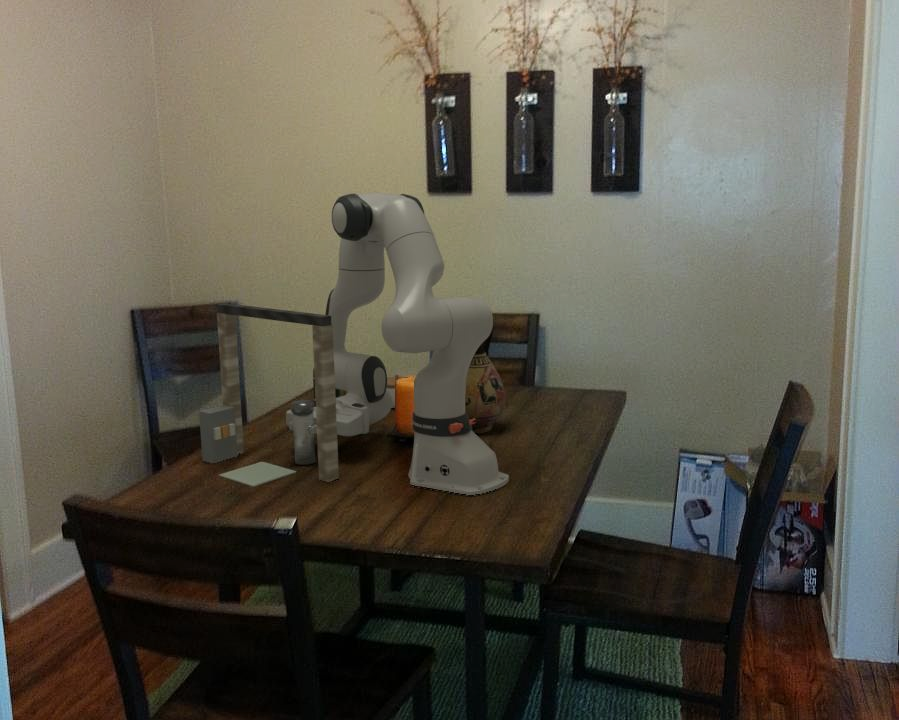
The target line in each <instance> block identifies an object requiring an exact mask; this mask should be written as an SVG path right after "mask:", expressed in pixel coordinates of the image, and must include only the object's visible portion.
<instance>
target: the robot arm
mask: <svg viewBox="0 0 899 720" xmlns="http://www.w3.org/2000/svg"><path fill="white" fill-rule="evenodd" d="M331 223H332V228H333V230H334V232H335V233H336V234H337V236H338V237H339V238H340V244H339V249H338V251H339V253H338V276H337V281H336V284H335V286H334V288H333V289H332V290H330V292H329V294H328V299H327V302H326V307H325V313H324V315H330V316H331V323H332V325H333V347H334V371H335V390H340V391H346V394H344V395H340V397H337V398H336V421H337V436H343V437H353V436H358V435H360V434H361V435H365V434H369V432H370V426H371V425H372V424H375V423H377V422H379V421H381V420H382V419H384V418H385V417H387V416H388V414H390V412H391V410H392V409H391V408H392V396H391V394H390V392H389V391H388V389H387V388H386V387H387V377H388V375H387V369H386V366H385V364H384V362H383V361H382V360H381V358H380V357H378V356H375V355H371V354H364V353H357V352H350V351H347V349H346V348H345V343H346V335H347V330H348V329H347V326H348V320H349V318H350V315H351V313H352V312H354V311H355V310H357V309H359V308H361V307H364V306H366V305H369V304H371V303H373V302H375V301H376V300H377V299H378V298H379V297H380V296H381V294H382V293H383V291H384V287H385V282H386V281H385V279H386V273H385V270H386V266H385V264H386V263H385V251H386V255H387V257H388V260H389V265H390V267H391V272H392V274H393V279H394V283H395V284H394V285H395V295H394V298H393V300H392V303H391V304H390V306H389V307H388V308H387V310H386V311H385V312H384V314H383V317H382V320H381V326H380V327H381V329H380V330H381V335H382V338H383V340H384V343H386V345H387V346H388V347H389V349H391V351H393V352H398V353H406V354H420V353H427V352H432V356H431V358H430V360H429V361H428V363H427V364H426V365H425V366H424V367H423V368H422V369H420V370H419V371H418V373H416V375H415V377H414V379H415V380H414V399H413V405H414V407H413V408H414V409H413V413H412V420H411V424H412V431H414V433H413V434H414V436H413V446H412V447H413V448H412V457H411V462H410V467H409V471H408V474H407V476H408V478H409V479H410V480H409V485H410V484H411V485H415V486H422V487H427V488H433V489H438V490H443V491H442V492H444V491H449V492H448V493H450V492H454V493H453V494H455V493H460V494H459V495H461V494H466V495H465V496H468V495H474V496H476V495H475V494H480V495H483V494H482V493H484V494H487V493H486V492H488V493H490V492H489V491H491V492H493V490H494V491H496V490H498V489H501V488H502V487H504V486H505V485H506V484H508V483H509V482H510V477H509V474H507V473H505V472H501V471H499V464H498V459H497V456H496V453H495V451H493V450H492V449H491V448H490V447H489V446H488V445H487V444H486V443H485V441H483V440H482V439H481V438H480V437H479V436H478V435H477V434H475V433H474V432H473V431H472V426H471V424H474V423H476V422H473V421H474V420H475V419H476V418H473V419H470V420H469V417H468V414H467V412H466V411H465V392H466V378H467V373H468V369H469V366H470V363H471V361H472V358H473V356H474V354H475V352H476V351H477V349H478V348H479V346H480V345H481V344H482V343H483V342H484V341H485V340H486V339H487V338H488V337H489V335H490V333H491V331H492V327H493V320H494V317H493V316H494V315H493V311H492V310H491V308H490V306H489V305H488V304H487V303H486V301H485V300H484V299H482V298H479V297H478V298H477V297H472V296H464V295H463V296H462V295H461V296H452V297H451V296H449V297H441V298H440V297H436V296H435V295H434V292H433V287H434V286H435V285H436V284H437V283H438V282H439V281H441V278H442V277H443V275H444V271H445V262H444V259H443V257H442V254H441V251H440V249H439V245H438V243H437V239H436V238H435V233H434V232H433V229H432V228H431V225H430V223H429V220H428V219H427V217H426V215H425V210H424V207H423V205H422V203H421V201H420V200H419V198H417V197H415V196H413V195H409V194H406V193H405V194H404V193H401V194H397V193H386V192H385V193H383V192H382V193H381V192H367V193H365V192H364V193H359V194H356V193H349V194H345V195H342V196H339V197H338V198H337V199H336V201H335V202H334V204H333V206H332V209H331ZM313 422H314V424H313V425H311V426H309V427H308V429H309V431H308V432H309V433H311V434H314V435H317V421H316V407H314V411H313ZM285 423H286V425H287V427H289V430H290V431H294V428H293V413H292V412H291V409H288V410H286V413H285ZM411 485H410V486H411ZM495 489H496V490H495ZM438 490H437V491H438Z"/></svg>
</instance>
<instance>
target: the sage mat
mask: <svg viewBox="0 0 899 720" xmlns="http://www.w3.org/2000/svg"><path fill="white" fill-rule="evenodd" d="M296 473H297V470H293V469H290V468H286V467H282V466H280V465H275V464H272V463H269V462H265V461H259V462H256V463H253V464H250V465H246V466H242V467H239V468H237V469H234V470H230V471H227V472H224V473H221V474H218V476H219V477H221V478H225V479H227V480H230V481H234V482H237V483H240V484H243V485H246V486H250V487H252V488H255V487H257V486H260V485H264V484H267V483H269V482H270V483H271V482H272V481H273V482H274V481H275V480H278V479H283V478H285V477H287V476H290V475H295V474H296Z"/></svg>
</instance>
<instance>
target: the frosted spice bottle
mask: <svg viewBox="0 0 899 720" xmlns="http://www.w3.org/2000/svg"><path fill="white" fill-rule="evenodd" d="M290 410H291V412H292V413H293V428H294V430H293V442H294V461H295V464H297V465H300V466H301V465H304V466H305V465H311V464H314V463H316V444H315V434H311V433H309V432H308V431H309V429H308V427H309V426H311V425H313V424H314V422H313V411H314V400H309V399H299V400H295V401H291V402H290Z"/></svg>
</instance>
